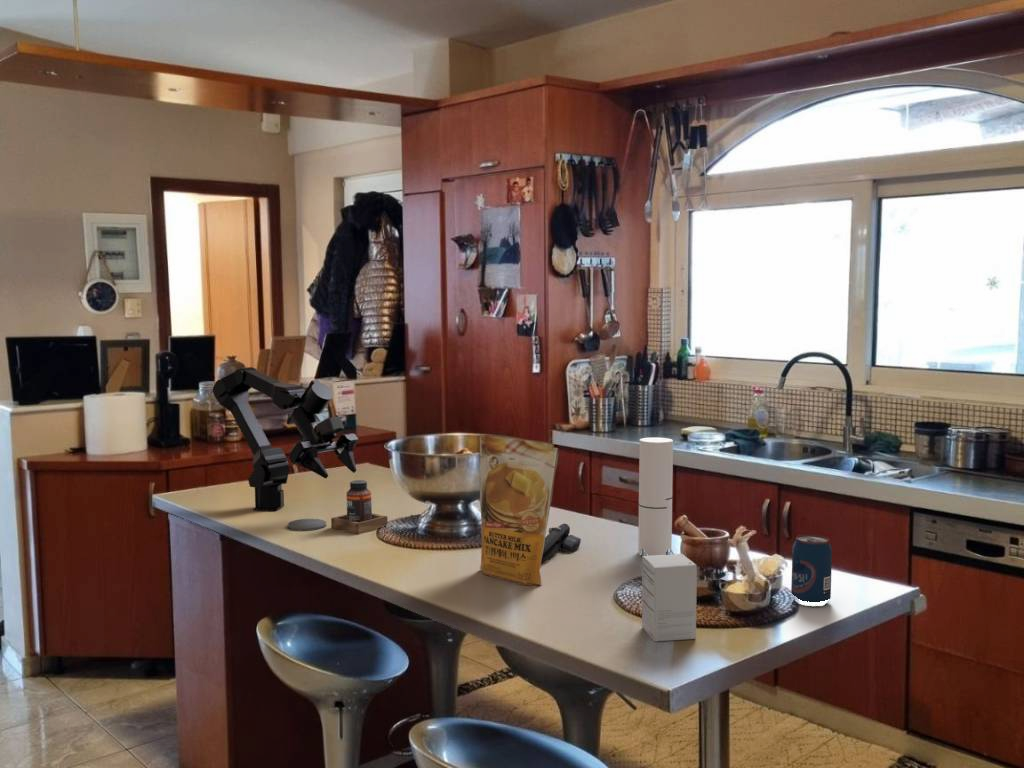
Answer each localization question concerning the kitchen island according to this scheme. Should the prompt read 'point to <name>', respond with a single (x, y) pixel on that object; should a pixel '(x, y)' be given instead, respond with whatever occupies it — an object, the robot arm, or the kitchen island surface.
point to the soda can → (811, 568)
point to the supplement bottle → (359, 502)
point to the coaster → (307, 524)
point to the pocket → (358, 524)
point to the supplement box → (669, 597)
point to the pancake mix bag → (515, 505)
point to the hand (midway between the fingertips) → (341, 474)
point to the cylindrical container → (655, 495)
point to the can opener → (559, 542)
